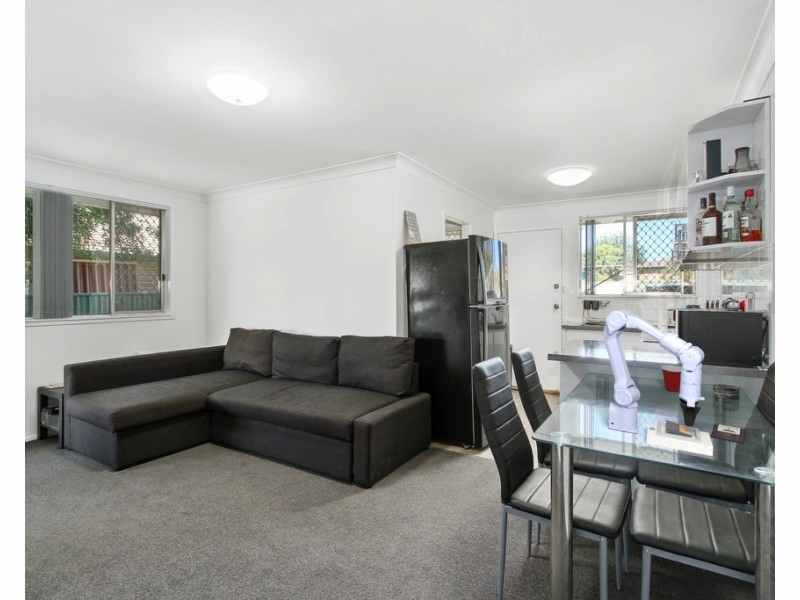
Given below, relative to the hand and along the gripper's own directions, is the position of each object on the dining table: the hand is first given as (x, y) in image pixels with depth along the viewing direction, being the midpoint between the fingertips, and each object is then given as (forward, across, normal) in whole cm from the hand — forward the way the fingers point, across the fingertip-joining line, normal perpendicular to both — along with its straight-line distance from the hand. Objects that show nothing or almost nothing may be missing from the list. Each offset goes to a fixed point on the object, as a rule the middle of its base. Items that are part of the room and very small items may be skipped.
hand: (688, 422), depth 141 cm
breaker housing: (+7, 0, +3) cm, 8 cm away
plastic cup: (+8, +83, +3) cm, 84 cm away
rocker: (+4, 0, +3) cm, 5 cm away
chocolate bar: (+8, +21, -13) cm, 26 cm away
